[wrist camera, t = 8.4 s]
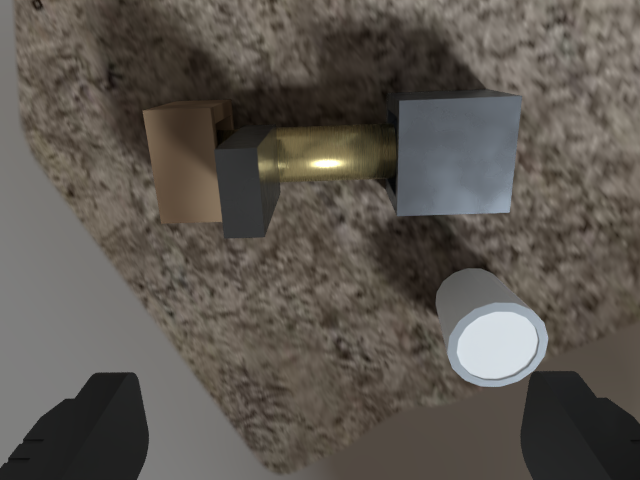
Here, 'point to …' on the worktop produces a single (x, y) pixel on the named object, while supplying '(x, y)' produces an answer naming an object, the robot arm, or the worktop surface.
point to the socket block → (187, 157)
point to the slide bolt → (292, 165)
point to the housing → (453, 151)
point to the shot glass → (488, 329)
